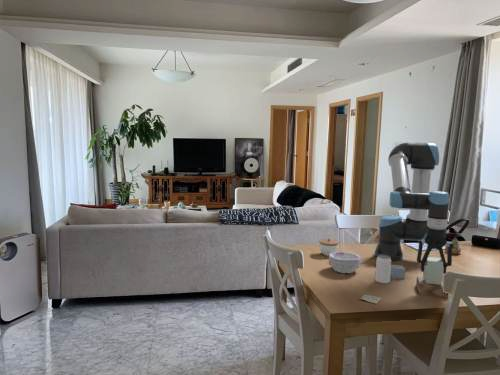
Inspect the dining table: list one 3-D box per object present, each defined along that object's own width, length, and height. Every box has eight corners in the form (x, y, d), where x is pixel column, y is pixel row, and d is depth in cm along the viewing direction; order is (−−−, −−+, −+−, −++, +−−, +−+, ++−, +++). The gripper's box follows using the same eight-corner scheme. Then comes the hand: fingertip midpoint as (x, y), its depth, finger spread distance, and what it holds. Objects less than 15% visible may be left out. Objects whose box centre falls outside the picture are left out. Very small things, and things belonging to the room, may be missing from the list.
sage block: (425, 283, 159) (427, 260, 157) (423, 278, 164) (425, 256, 163) (441, 285, 157) (443, 262, 156) (438, 280, 163) (440, 258, 161)
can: (388, 285, 167) (389, 259, 166) (373, 282, 171) (375, 256, 169) (391, 280, 173) (392, 255, 171) (377, 277, 176) (378, 253, 175)
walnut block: (419, 294, 158) (420, 285, 157) (416, 284, 168) (416, 276, 168) (448, 297, 154) (449, 288, 154) (442, 288, 165) (443, 279, 164)
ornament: (443, 252, 220) (445, 236, 218) (446, 250, 224) (447, 234, 223) (458, 255, 214) (460, 238, 213) (461, 253, 219) (462, 237, 218)
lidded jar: (340, 253, 214) (341, 238, 213) (334, 258, 205) (334, 242, 204) (322, 250, 220) (323, 235, 218) (315, 255, 211) (316, 239, 209)
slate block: (393, 278, 176) (394, 268, 175) (390, 274, 181) (390, 265, 180) (404, 278, 176) (404, 268, 175) (400, 275, 181) (401, 265, 180)
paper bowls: (338, 263, 196) (339, 249, 195) (365, 271, 185) (366, 255, 185) (322, 270, 186) (323, 254, 185) (349, 278, 175) (350, 262, 174)
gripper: (413, 227, 157) (409, 279, 160) (463, 231, 151) (458, 285, 154) (411, 224, 164) (407, 274, 167) (459, 227, 159) (454, 279, 161)
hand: (432, 279), depth 161 cm, fingers closed on sage block, 6 cm apart
